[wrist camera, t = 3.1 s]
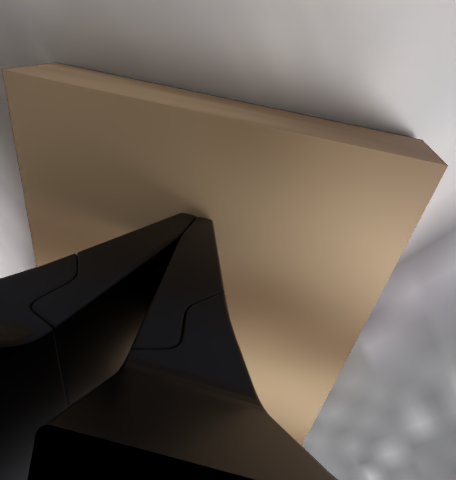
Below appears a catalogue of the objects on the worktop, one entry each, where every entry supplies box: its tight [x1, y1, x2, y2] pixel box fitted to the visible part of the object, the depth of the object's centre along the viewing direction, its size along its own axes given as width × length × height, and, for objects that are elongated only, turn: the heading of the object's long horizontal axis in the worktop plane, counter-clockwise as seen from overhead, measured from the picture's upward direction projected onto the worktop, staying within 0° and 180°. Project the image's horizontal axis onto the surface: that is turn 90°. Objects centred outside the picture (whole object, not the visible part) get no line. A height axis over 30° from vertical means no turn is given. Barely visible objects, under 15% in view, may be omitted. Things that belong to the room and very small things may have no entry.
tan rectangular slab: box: [2, 63, 448, 446], centre depth 12 cm, size 12×10×2 cm
